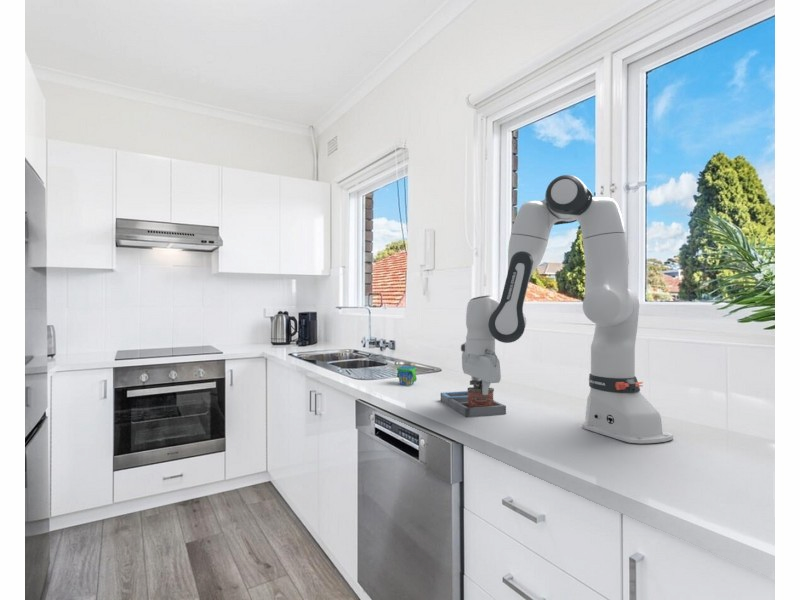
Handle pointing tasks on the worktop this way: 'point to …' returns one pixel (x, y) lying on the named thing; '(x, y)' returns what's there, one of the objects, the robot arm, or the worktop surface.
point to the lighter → (479, 395)
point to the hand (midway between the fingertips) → (480, 392)
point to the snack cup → (406, 375)
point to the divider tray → (461, 405)
